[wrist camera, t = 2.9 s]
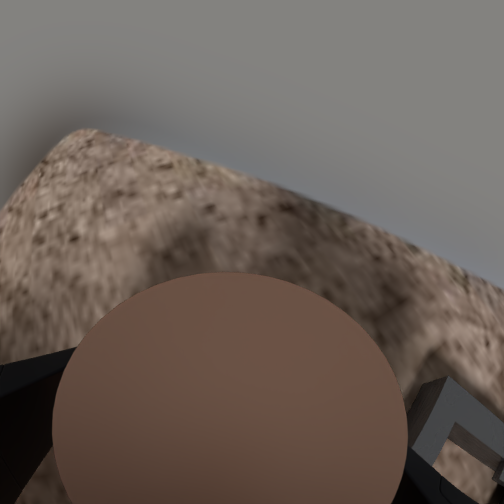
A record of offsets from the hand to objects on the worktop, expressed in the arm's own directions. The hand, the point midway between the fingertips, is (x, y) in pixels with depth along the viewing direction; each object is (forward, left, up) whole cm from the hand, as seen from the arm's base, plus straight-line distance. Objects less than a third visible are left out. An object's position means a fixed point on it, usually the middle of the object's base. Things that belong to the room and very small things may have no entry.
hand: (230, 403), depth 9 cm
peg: (0, -1, -8) cm, 8 cm away
